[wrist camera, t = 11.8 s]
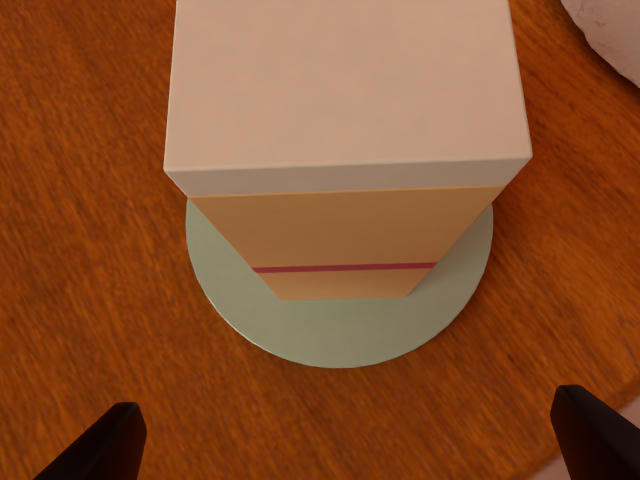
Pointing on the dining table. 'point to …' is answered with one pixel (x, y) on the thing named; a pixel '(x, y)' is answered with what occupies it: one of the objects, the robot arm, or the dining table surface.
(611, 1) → the stone
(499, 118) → the cake slice
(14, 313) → the dining table surface
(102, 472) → the robot arm
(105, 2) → the dining table surface
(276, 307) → the plate
